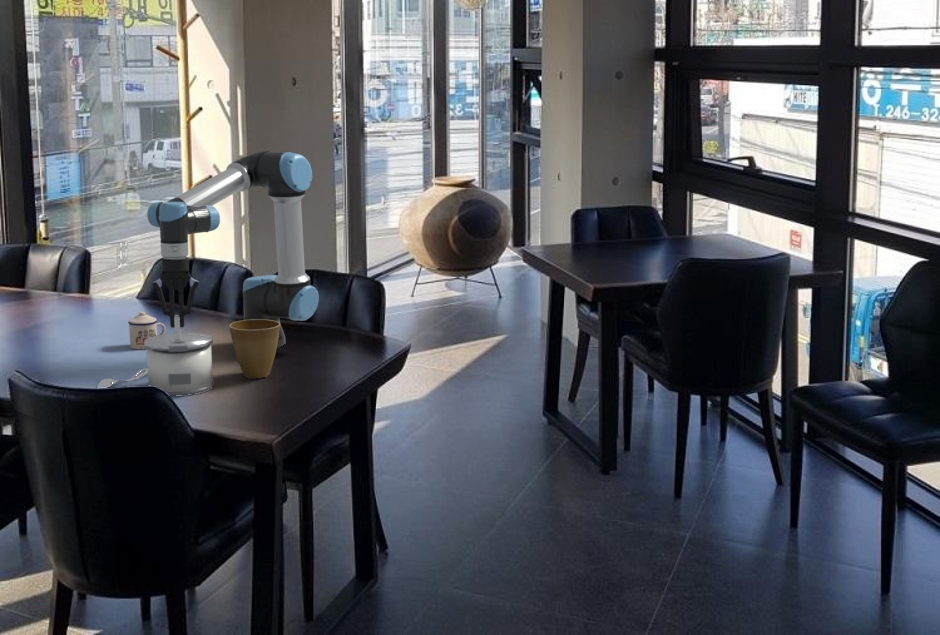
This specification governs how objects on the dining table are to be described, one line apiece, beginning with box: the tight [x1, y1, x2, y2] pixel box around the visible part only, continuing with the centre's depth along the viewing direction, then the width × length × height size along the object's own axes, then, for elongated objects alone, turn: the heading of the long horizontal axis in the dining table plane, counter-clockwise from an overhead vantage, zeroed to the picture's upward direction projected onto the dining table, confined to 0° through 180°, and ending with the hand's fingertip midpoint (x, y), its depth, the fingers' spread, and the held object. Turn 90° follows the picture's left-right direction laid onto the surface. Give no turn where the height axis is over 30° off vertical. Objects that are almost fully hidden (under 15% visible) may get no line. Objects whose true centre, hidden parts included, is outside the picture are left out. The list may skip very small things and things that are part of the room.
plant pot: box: [229, 319, 281, 379], centre depth 330 cm, size 15×15×16 cm
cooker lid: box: [144, 332, 214, 352], centre depth 315 cm, size 19×21×2 cm
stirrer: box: [97, 367, 148, 388], centre depth 323 cm, size 20×4×5 cm
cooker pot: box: [146, 345, 215, 397], centre depth 318 cm, size 19×19×12 cm
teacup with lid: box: [128, 311, 166, 351], centre depth 362 cm, size 12×9×12 cm
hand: (177, 338), depth 315 cm, fingers closed
